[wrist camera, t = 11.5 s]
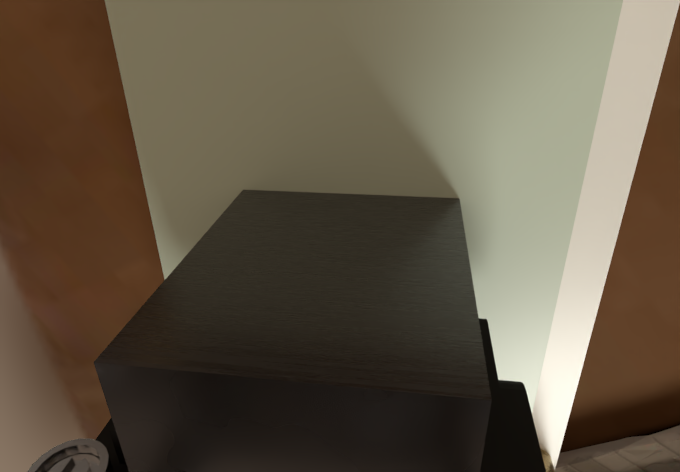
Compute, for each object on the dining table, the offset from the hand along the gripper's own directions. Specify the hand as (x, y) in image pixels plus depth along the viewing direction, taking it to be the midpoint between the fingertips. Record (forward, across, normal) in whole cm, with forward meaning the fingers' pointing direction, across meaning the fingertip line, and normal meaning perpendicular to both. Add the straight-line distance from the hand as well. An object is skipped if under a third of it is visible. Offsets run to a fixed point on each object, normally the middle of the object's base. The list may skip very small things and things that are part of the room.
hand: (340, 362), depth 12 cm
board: (+3, 0, 0) cm, 3 cm away
